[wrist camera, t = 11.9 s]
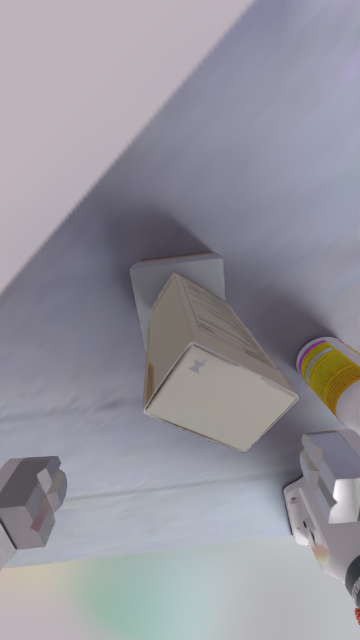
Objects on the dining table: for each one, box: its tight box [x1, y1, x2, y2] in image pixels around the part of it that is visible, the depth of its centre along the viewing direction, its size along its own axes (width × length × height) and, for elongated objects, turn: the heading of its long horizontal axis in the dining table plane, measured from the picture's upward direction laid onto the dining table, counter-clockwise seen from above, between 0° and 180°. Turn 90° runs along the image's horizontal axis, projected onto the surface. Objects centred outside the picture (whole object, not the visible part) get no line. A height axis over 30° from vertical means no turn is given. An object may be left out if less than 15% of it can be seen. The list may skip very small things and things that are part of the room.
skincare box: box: [143, 273, 299, 453], centre depth 17 cm, size 6×4×12 cm
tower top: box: [129, 253, 226, 352], centre depth 24 cm, size 8×8×4 cm
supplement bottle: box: [296, 337, 360, 435], centre depth 26 cm, size 7×7×13 cm
